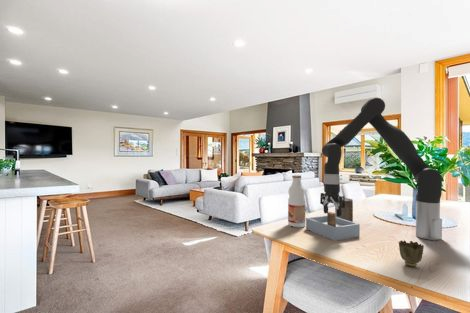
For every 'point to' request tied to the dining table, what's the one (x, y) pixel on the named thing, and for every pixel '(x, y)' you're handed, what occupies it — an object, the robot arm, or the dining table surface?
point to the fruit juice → (296, 203)
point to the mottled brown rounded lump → (411, 252)
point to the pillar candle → (346, 210)
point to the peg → (331, 219)
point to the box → (333, 228)
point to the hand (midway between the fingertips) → (332, 214)
